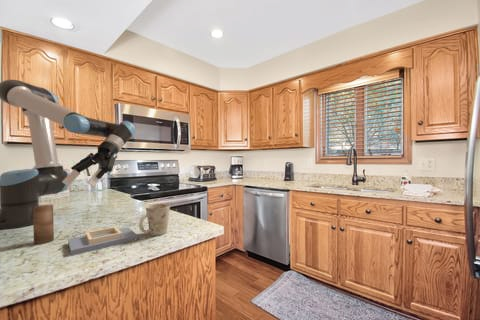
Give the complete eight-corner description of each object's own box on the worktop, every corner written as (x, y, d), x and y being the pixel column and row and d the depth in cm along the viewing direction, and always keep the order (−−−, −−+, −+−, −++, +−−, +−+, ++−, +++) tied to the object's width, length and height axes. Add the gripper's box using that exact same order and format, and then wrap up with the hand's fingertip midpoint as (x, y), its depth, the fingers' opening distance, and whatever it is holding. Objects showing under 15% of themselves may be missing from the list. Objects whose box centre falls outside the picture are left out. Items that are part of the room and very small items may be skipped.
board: (68, 243, 71) (68, 234, 71) (128, 230, 83) (128, 223, 83) (71, 255, 62) (70, 245, 62) (137, 239, 74) (137, 230, 74)
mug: (174, 230, 83) (174, 204, 83) (150, 242, 71) (149, 212, 71) (157, 228, 86) (157, 203, 86) (131, 239, 74) (131, 210, 74)
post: (34, 241, 73) (33, 206, 73) (53, 237, 76) (53, 203, 76) (33, 245, 69) (32, 208, 69) (53, 241, 73) (53, 206, 73)
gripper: (137, 151, 96) (108, 190, 81) (96, 153, 104) (62, 189, 89) (127, 139, 91) (94, 178, 76) (84, 142, 98) (47, 177, 84)
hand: (77, 184), depth 83 cm, fingers open, 13 cm apart
